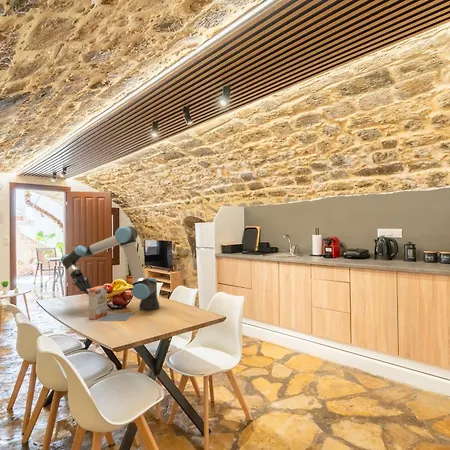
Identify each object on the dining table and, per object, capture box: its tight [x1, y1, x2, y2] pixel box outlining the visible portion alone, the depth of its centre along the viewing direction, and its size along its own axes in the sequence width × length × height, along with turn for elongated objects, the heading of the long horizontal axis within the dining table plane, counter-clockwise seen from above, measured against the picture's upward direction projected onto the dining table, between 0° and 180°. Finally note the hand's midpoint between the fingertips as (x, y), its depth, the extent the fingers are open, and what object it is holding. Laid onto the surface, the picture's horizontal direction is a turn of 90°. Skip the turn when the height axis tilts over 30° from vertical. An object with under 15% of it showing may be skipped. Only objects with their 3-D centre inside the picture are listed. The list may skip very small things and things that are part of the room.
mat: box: [97, 312, 135, 322], centre depth 236 cm, size 19×20×1 cm
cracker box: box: [88, 285, 108, 320], centre depth 237 cm, size 14×6×21 cm, turn 168°
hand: (91, 296), depth 240 cm, fingers closed
